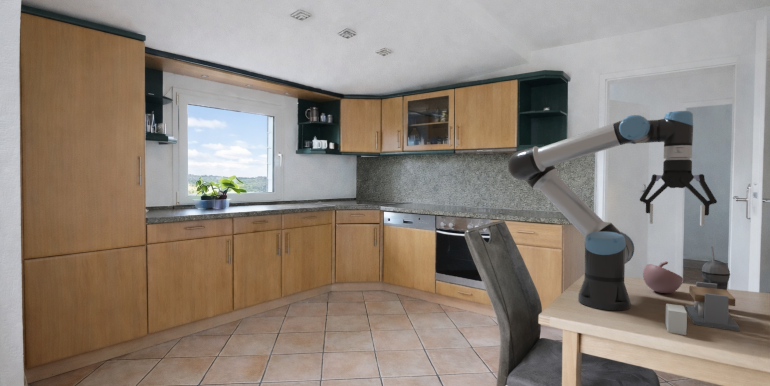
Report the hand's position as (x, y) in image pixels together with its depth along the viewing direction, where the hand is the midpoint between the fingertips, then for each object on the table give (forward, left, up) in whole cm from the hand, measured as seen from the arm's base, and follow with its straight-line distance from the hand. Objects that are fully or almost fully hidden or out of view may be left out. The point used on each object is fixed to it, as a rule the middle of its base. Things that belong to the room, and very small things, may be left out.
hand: (675, 224), depth 131 cm
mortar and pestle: (-2, +16, -27) cm, 31 cm away
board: (+8, -10, -21) cm, 24 cm away
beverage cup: (+11, +3, -27) cm, 29 cm away
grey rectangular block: (-2, -26, -27) cm, 37 cm away
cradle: (+8, -10, -27) cm, 30 cm away
